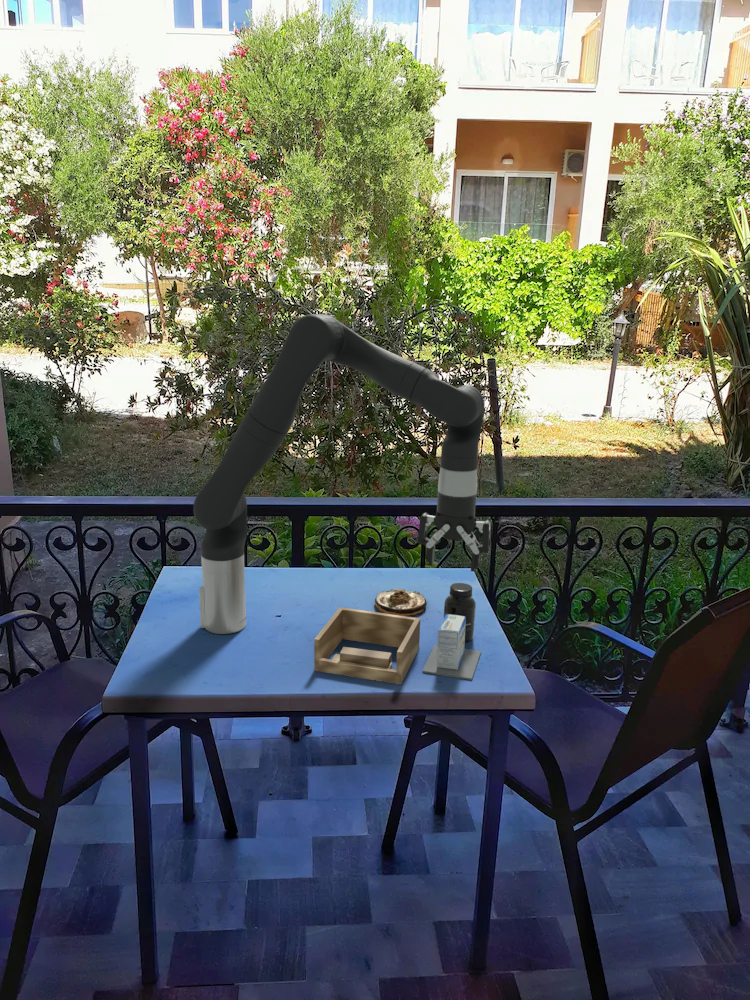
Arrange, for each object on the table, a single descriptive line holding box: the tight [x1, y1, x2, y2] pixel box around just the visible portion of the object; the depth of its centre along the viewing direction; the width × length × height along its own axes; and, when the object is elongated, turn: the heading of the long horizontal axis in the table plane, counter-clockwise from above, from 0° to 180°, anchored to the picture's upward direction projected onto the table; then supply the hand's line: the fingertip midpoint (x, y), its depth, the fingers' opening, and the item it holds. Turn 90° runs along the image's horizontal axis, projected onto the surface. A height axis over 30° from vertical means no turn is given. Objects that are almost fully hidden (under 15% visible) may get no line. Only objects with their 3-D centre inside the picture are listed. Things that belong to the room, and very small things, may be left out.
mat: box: [422, 644, 482, 681], centre depth 166 cm, size 10×12×1 cm
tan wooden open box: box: [313, 606, 421, 685], centre depth 166 cm, size 18×16×7 cm
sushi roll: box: [374, 588, 428, 617], centre depth 192 cm, size 15×15×4 cm
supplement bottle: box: [442, 582, 477, 644], centre depth 176 cm, size 7×7×12 cm
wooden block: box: [331, 646, 393, 669], centre depth 162 cm, size 12×3×4 cm, turn 74°
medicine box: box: [437, 614, 466, 670], centre depth 165 cm, size 8×4×9 cm, turn 164°
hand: (452, 567), depth 161 cm, fingers open, 8 cm apart
